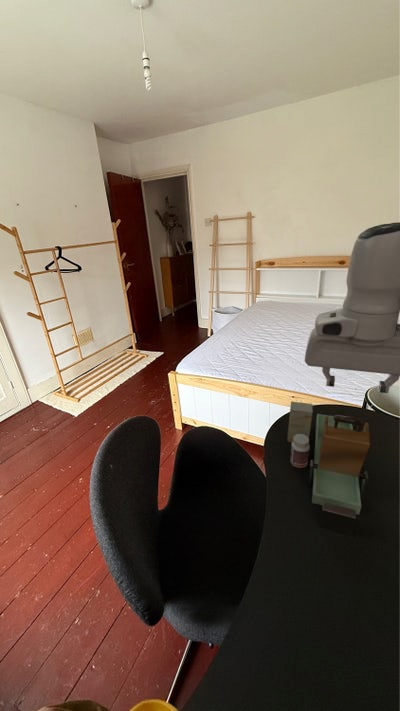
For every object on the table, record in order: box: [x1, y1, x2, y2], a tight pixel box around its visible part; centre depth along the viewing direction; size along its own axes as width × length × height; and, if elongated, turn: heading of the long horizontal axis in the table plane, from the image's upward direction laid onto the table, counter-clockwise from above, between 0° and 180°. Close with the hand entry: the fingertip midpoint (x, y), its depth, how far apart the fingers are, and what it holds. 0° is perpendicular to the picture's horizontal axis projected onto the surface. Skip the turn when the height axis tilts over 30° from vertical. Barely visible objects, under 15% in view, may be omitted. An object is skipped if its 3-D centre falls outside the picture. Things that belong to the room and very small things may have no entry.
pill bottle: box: [289, 434, 311, 469], centre depth 81 cm, size 5×5×8 cm
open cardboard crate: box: [319, 414, 371, 478], centre depth 67 cm, size 17×9×6 cm
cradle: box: [307, 459, 369, 537], centre depth 68 cm, size 12×12×7 cm
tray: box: [311, 413, 362, 516], centre depth 82 cm, size 32×10×3 cm, turn 159°
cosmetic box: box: [286, 400, 314, 443], centre depth 88 cm, size 6×4×12 cm
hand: (355, 388), depth 59 cm, fingers open, 8 cm apart
